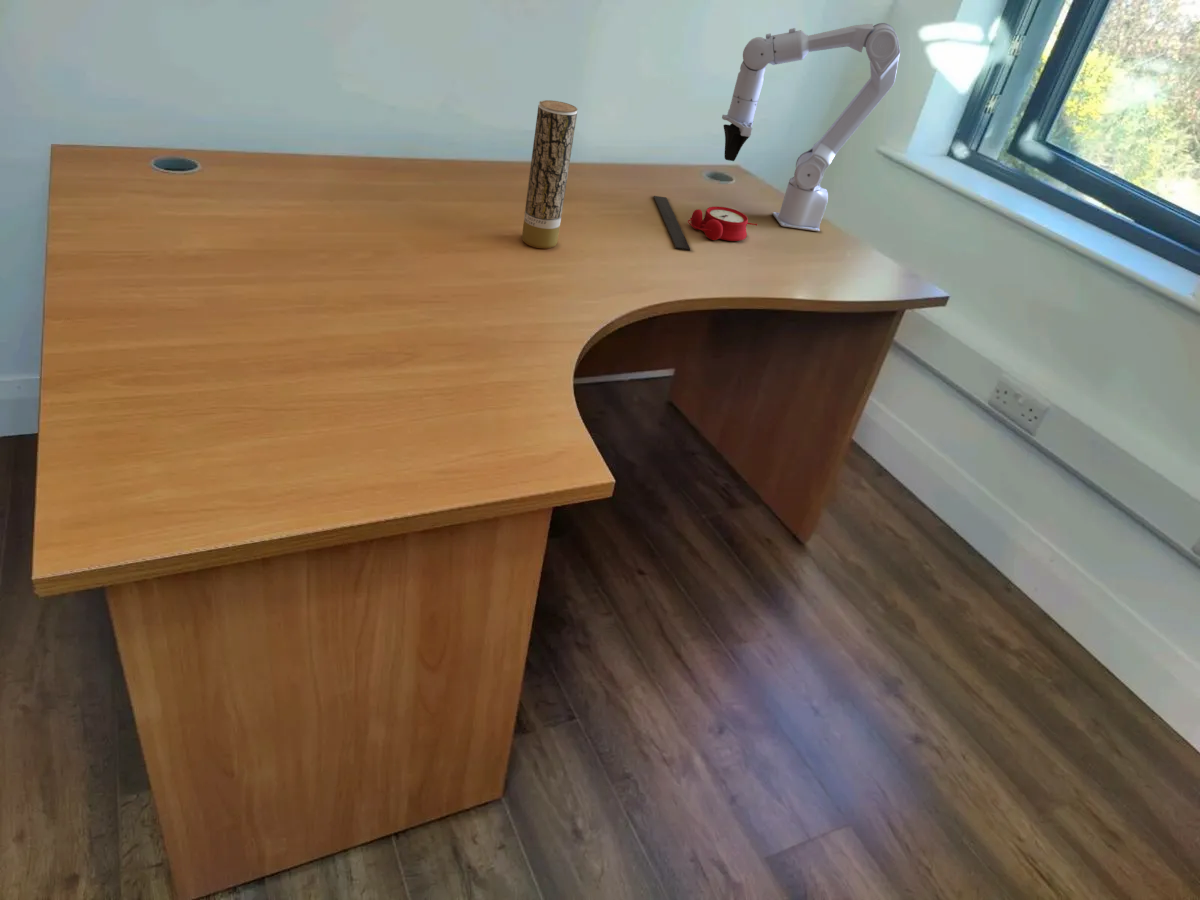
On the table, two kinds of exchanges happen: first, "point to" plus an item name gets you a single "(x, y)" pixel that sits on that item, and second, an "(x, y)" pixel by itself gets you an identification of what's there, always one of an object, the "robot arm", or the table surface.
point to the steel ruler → (671, 223)
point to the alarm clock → (721, 223)
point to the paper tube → (548, 173)
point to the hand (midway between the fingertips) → (729, 159)
